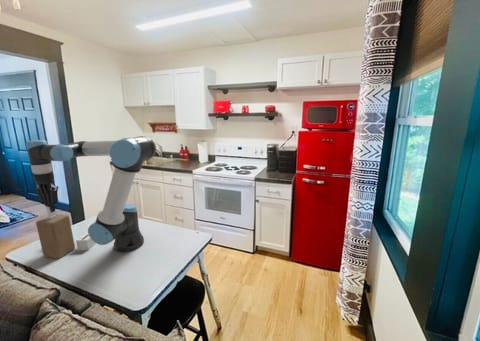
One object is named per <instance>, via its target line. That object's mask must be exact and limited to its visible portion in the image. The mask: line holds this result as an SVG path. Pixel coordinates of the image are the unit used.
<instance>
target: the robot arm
mask: <svg viewBox="0 0 480 341" xmlns="http://www.w3.org/2000/svg"><path fill="white" fill-rule="evenodd" d="M26 151H27V156H28V159H29V164H30V167H31V173H32V177H33V181H34V183H36V185H34V186H33V189H35V191H36V194H37V196H38V198H39V202H40V203H41V205H43V206H45V208H46V212H47V217H48V218H49V219H51V218H54V217H56V214H57V213H56V208H55V207H56V206H55V205H58V202H59V200H58V199H59V198H58V190H59V186H58V185H57V186H56V185H55V184H54V182H53V180H54V179H55V176H54V175H55V174H54V172H53V166H52V162H67V161H70V160H71V159H75V158H78V157H79V158H80V157H105V156H106V157H107V156H109V157H110V161H111V162H112V164H111V165H112V167H113V168H114V170H113V173H112V178H111V180H110V183H109V187H108V191H107V195H106V198H105V201H104V205H103V208H102V210H100V211H99V212H98V213H97V215H96V220H95V222H93V223H91V224H90V225H89V226H88V229H87V233H88V234H87V235H89V236H90V238H91V239H92V240H93V241H94V242H95V243H96V244H97V245H99V246H105V245H108V244H110V243H112V242H113V248H114V250H115V251H116V252H120V253H123V252H124V253H125V252H130V251H134V250H136V249H139V248H140V247H142V246H143V244H144V243H145V240H144V238H145V237H144V235H142V232H141V230H140V226H139V217H138V210H137V206H136V205H135V204H131V203H129V204H128V203H127V201H128V199H129V195H130V192H131V188H132V186H133V182H134V179H135V177H136V174H137V173H139V172H141V170H142V168H143V164H144V162H147V161H148V160H151V159H152V158H153V157H154V156H155V154H156V151H157V146H156V143H155V141H154V140H153V139H152V138H150V137H148V136H146V135H145V136H144V135H140V136H135V137H124V138H121V139H118V140H97V141H96V140H94V141H91V140H90V141H87V140H86V141H85V140H81V141H75V142H69V143H68V142H67V143H59V144H48V141H47V140H45V139H36V140H35V139H33V140H28V141H27V142H26Z"/></svg>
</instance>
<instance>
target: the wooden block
mask: <svg viewBox="0 0 480 341" xmlns="http://www.w3.org/2000/svg"><path fill="white" fill-rule="evenodd" d="M35 224H36V229H37V232H38V237H39V243H40V246H41V250H42V251H41V252H42V255H43V257H45V258H50V259H51V258H52V259H61V258H62V257H64V256H65V255H67V254H68V253H71V252H72V251H74V250H75V249H76V246H75V244H76V243H75V240H74V235H73V229H72V224H71V220H70V216H69V215H67V214H58V213H56V217H54V218H51V219H49V218H48V216H46V217H44V218H42V219H39V220H37V221H36V222H35Z"/></svg>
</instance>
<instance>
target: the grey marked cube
mask: <svg viewBox="0 0 480 341" xmlns="http://www.w3.org/2000/svg"><path fill="white" fill-rule="evenodd" d="M75 242H76V243H75V244H76V248H77V251H90V250H91V249H92V248H93V247H94V246H95V245H96V244H97V243H95V242H94V241H93V240H92V239H91V238H90V236H89V234H82V235H81V236H80V237H78V238H77V239H76V240H75Z"/></svg>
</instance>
